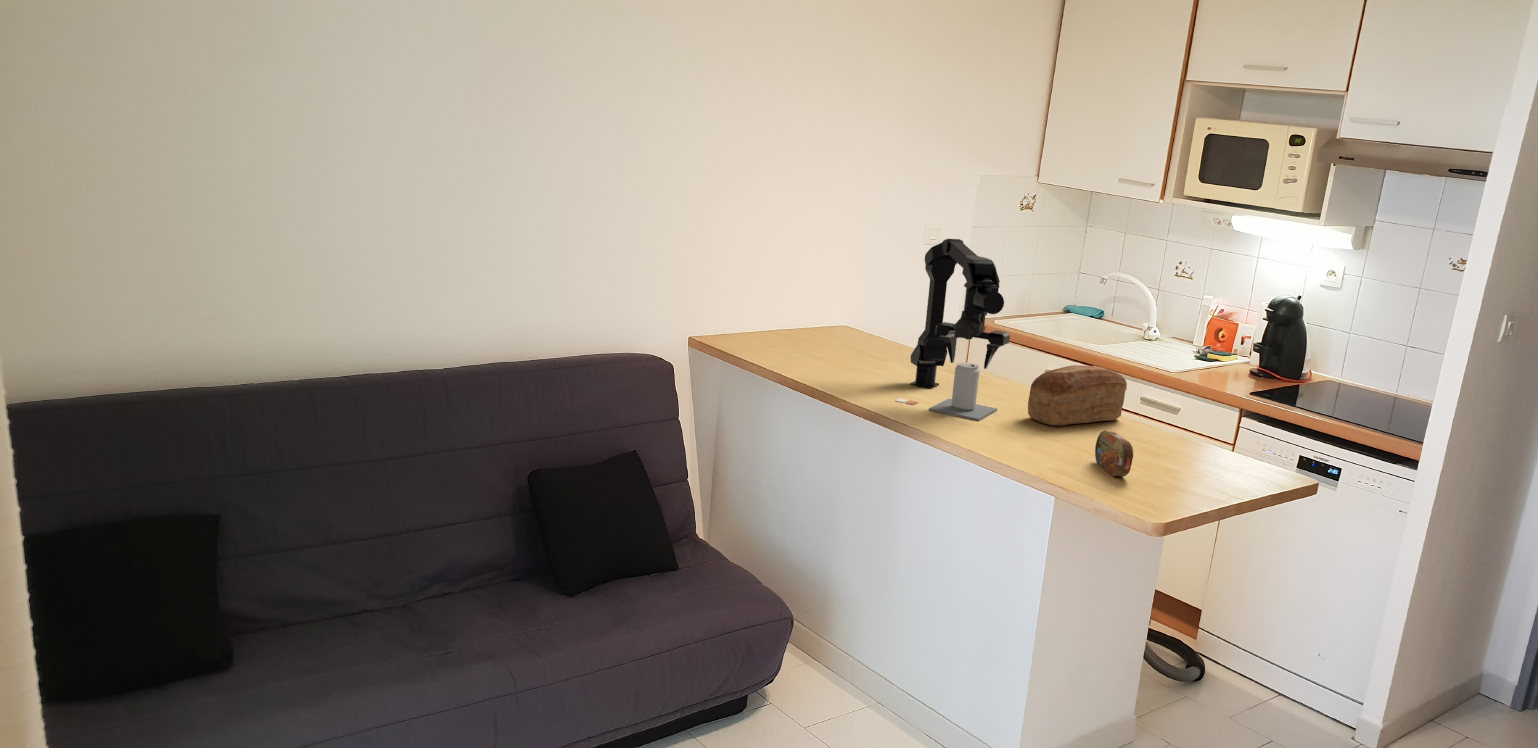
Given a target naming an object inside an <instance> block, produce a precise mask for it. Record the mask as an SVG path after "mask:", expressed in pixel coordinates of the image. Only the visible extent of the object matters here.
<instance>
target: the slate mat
mask: <svg viewBox="0 0 1538 748" xmlns="http://www.w3.org/2000/svg"><path fill="white" fill-rule="evenodd" d="M951 403H952V398H947V399H945V400H942V401H941V402H939V403H937V404H935V405H933V406H931V407H929V408H928V412H929V411H930V412H934V413H940V414H944V415H948V416H953V417H957V416H958V418H962V417H963V419H968V420H971V419H972V420H971V421H976V420H978V421H977V422H981V421H982V420H984V419H985V418H987V417H988V416H990V415H992V414H994V413H996V412H997V411H998V408H996V407H991V406H986V405H982V404H978V403H976V407H975V408H974V409H973V410H971V411H962V410H957V409H955V408H954V407H953V406H952V405H951Z"/></svg>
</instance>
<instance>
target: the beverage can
mask: <svg viewBox="0 0 1538 748" xmlns="http://www.w3.org/2000/svg"><path fill="white" fill-rule="evenodd" d="M956 365H957V366H955V369H954V376H953V377H954V378H953V385H952V386H953V387H952V396H951V399H952V403H951V405H952V406H953V407H954V408H955V409H957V410H962V411H971V410H973V409H974V408H975V407H976V404H977V399H978V391H979V389H978V388H979V381H980V380H979V379H980V367H979V365H978V364H976V363H973V362H958V363H956Z"/></svg>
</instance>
